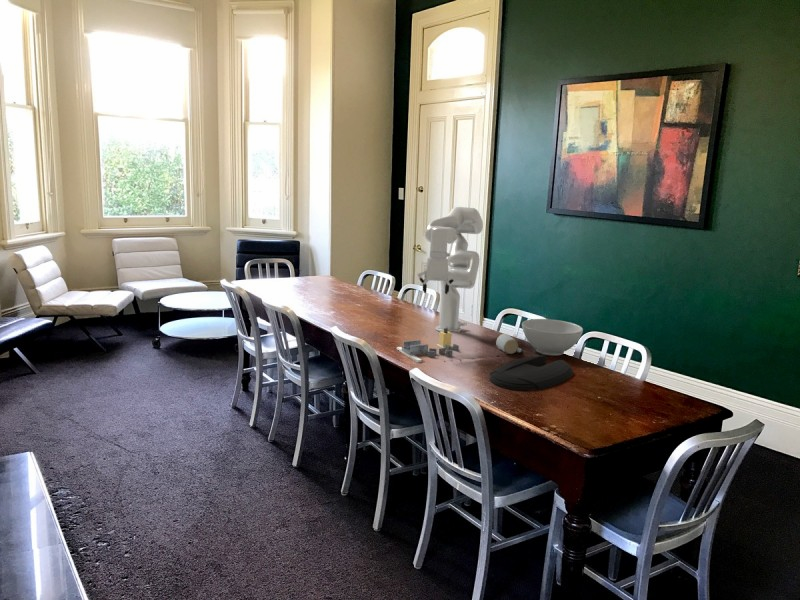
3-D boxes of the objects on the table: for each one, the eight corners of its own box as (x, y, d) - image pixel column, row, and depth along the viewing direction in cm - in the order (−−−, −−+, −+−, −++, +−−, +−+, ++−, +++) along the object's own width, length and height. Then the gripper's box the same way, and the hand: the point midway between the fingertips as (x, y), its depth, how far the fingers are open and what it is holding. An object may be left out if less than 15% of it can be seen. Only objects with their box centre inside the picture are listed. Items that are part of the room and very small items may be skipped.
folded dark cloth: (473, 380, 235) (474, 367, 234) (527, 360, 265) (528, 349, 264) (531, 397, 219) (532, 384, 218) (581, 374, 249) (582, 362, 248)
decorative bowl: (521, 341, 295) (523, 316, 292) (579, 347, 288) (582, 322, 286) (517, 356, 269) (519, 329, 267) (580, 363, 263) (583, 336, 260)
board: (445, 345, 281) (446, 337, 280) (469, 357, 264) (469, 349, 263) (396, 349, 270) (397, 341, 270) (417, 362, 253) (417, 354, 252)
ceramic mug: (503, 355, 269) (505, 338, 268) (495, 350, 277) (496, 333, 275) (525, 354, 273) (526, 337, 271) (515, 349, 280) (517, 333, 279)
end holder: (419, 348, 269) (419, 339, 269) (427, 353, 262) (428, 344, 262) (401, 350, 266) (402, 341, 265) (409, 355, 259) (410, 346, 258)
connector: (446, 344, 279) (447, 326, 277) (450, 346, 275) (451, 329, 274) (438, 344, 277) (439, 327, 275) (443, 347, 274) (444, 329, 272)
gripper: (455, 255, 279) (452, 292, 282) (417, 253, 277) (415, 291, 279) (458, 257, 271) (455, 295, 274) (420, 255, 269) (417, 293, 272)
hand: (435, 293), depth 277 cm, fingers open, 9 cm apart
